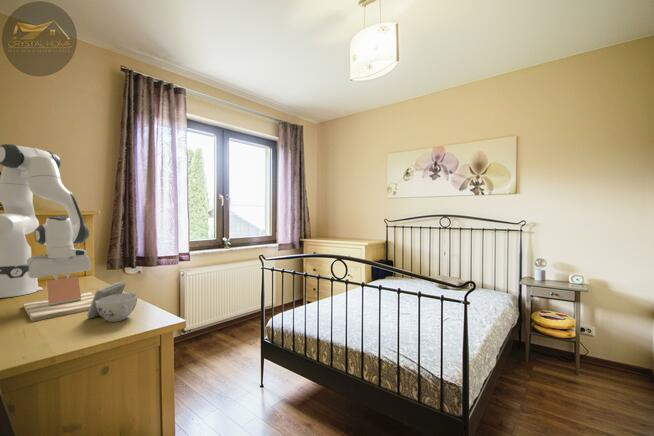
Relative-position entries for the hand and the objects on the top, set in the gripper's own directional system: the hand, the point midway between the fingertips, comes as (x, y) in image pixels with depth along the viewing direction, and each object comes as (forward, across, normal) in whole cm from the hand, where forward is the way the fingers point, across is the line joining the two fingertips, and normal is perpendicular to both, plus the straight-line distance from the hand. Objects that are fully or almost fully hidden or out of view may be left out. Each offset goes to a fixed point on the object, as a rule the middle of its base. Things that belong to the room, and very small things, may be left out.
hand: (62, 284), depth 126 cm
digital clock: (+9, +8, -31) cm, 33 cm away
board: (+8, -1, -10) cm, 12 cm away
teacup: (+9, +8, -45) cm, 46 cm away
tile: (+2, -1, -7) cm, 7 cm away
